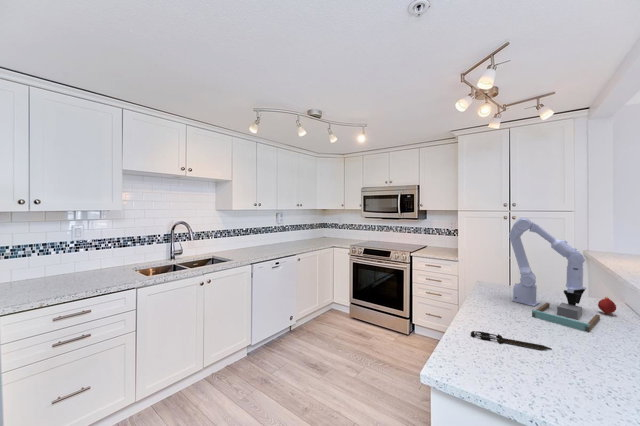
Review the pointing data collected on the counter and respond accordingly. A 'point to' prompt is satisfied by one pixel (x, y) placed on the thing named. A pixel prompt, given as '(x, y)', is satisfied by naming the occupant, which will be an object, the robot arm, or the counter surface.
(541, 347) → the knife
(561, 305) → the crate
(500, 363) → the counter surface
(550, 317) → the bay
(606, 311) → the red rounded lump
